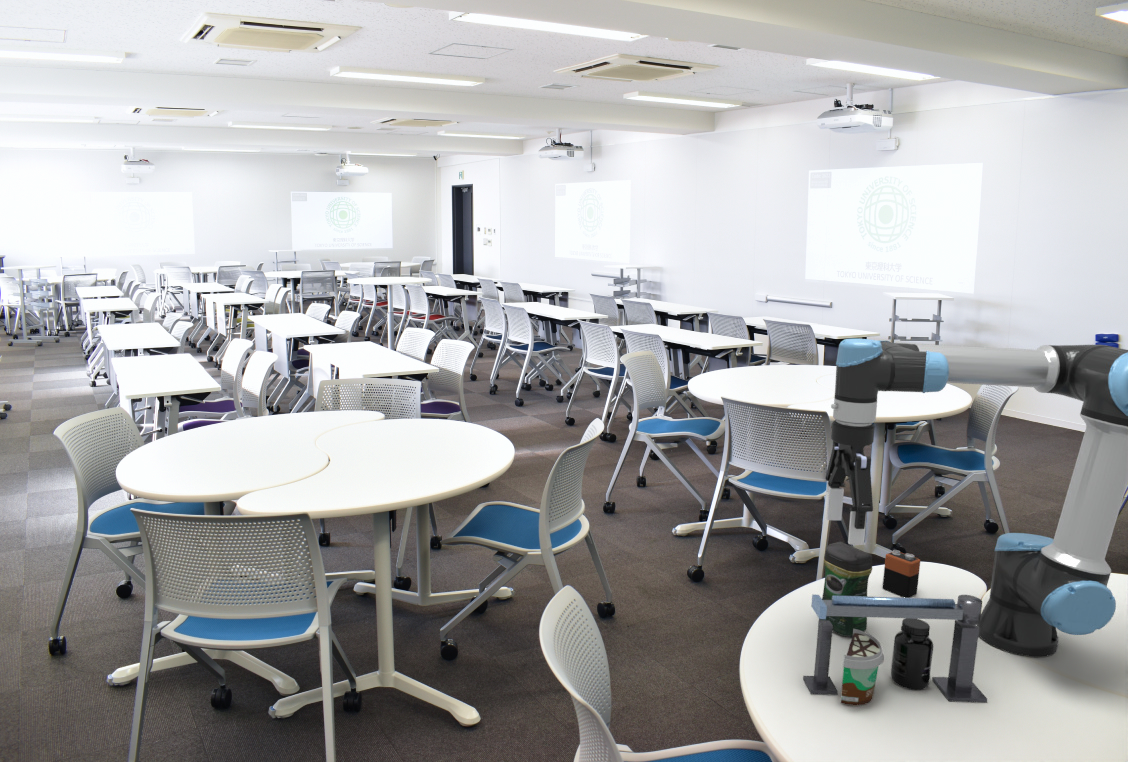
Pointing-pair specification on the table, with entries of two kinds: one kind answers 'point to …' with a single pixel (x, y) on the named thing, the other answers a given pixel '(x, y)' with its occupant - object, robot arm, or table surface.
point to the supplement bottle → (912, 655)
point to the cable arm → (900, 608)
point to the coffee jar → (846, 582)
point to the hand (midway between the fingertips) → (844, 531)
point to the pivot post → (961, 667)
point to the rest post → (822, 663)
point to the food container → (861, 669)
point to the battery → (901, 574)
